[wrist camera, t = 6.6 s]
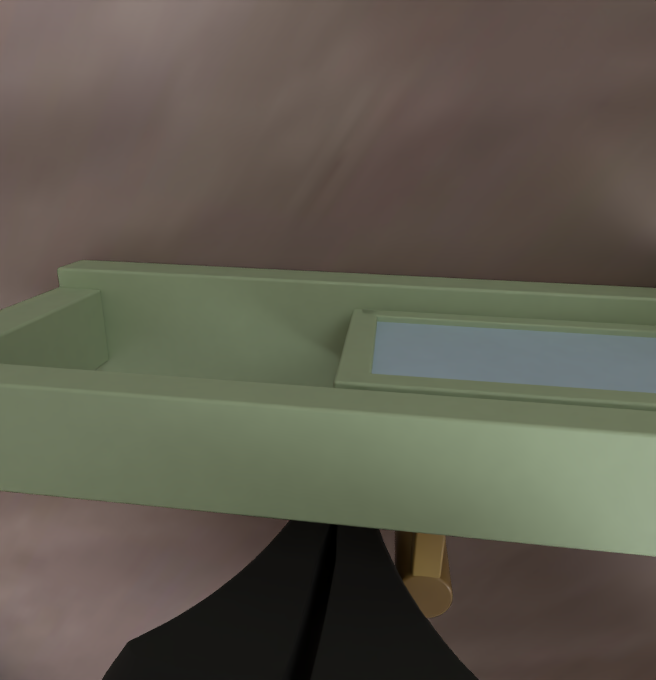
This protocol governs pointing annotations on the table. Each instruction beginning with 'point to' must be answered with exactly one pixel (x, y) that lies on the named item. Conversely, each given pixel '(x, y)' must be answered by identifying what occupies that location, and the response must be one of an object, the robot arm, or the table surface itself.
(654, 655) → the table surface
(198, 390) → the window frame
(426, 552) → the window
